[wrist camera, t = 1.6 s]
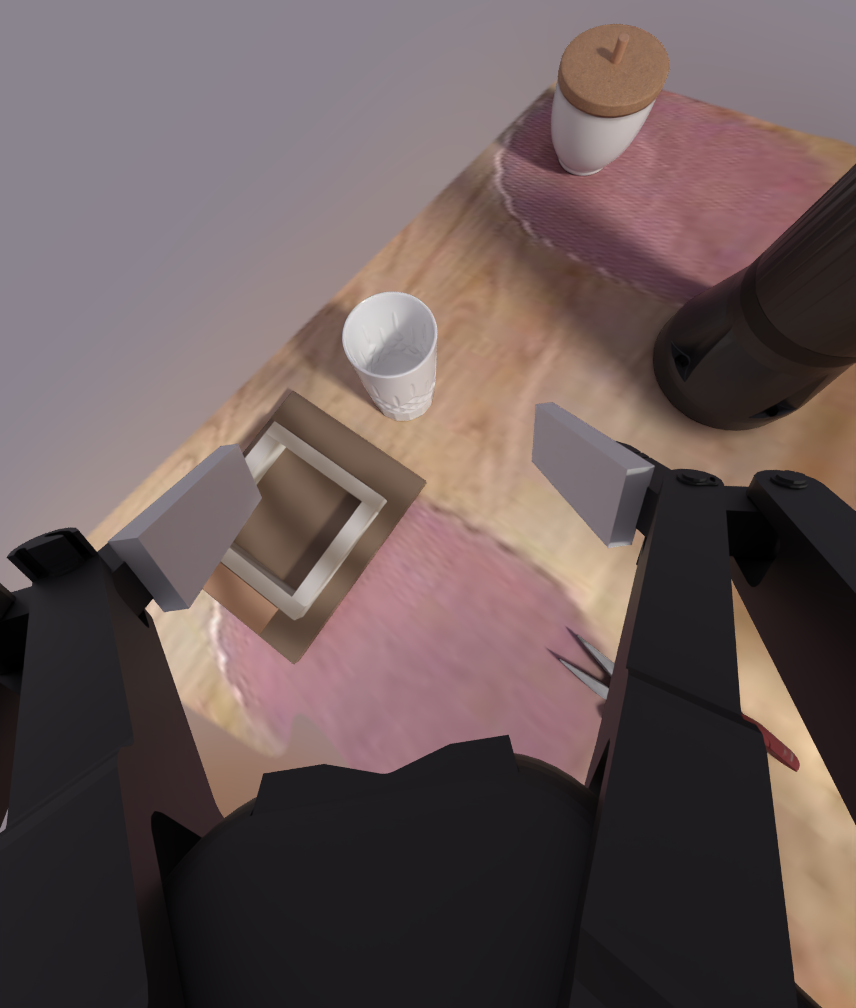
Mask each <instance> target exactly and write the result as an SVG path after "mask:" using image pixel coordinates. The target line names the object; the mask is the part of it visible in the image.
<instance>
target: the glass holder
mask: <svg viewBox="0 0 856 1008" xmlns="http://www.w3.org/2000/svg"><path fill="white" fill-rule="evenodd" d="M243 456H244V458H245V460H246V463H247V465H248V467H249V469H250V472H251V474H252V476H253V479H254V481H255V483H256V485H257V488H258V490H259V492H260V494H261V497H262V499H261V500H260V502H259V503H258V505H257V506H256V508H255V509H254V511H253V512H252V514H251V515H250V517H249V518H248V520H247V521H246V523H245V525H244V526H243V528H242V529H241V531H240V532H239V534H238V535H237V537H236V538H235V540H234V541H233V543H232V544H231V546H230V547H229V549H228V550H227V552H226V553H225V555H224V556H223V558H222V559H221V561H220V563H219V564H218V566H217V567H216V569H215V570H214V572H213V573H212V575H211V576H210V578H209V579H208V581H207V582H206V584H205V585H204V587H203V588H202V589H203V590H204V591H206V592H207V593H208V594H209V595H210V596H212V597H213V598H214V599H215V600H216V601H218V602H219V603H220V604H221V605H223V606H224V607H225V608H226V609H227V610H229V611H230V612H231V613H232V614H233V615H235V616H236V617H237V618H238V619H239V620H241V621H242V622H243V623H244V624H245V625H247V626H248V627H249V628H250V629H251V630H253V631H254V632H255V633H256V634H258V635H259V636H260V637H261V638H262V639H264V640H265V641H266V642H267V643H268V644H270V645H271V646H272V647H273V648H274V649H276V650H277V651H278V652H279V653H280V654H282V655H283V656H284V657H285V658H287V659H288V660H289V661H290V662H291V663H293V664H295V663H296V662H298V661H299V660H300V659H301V657H302V656H303V655H304V653H305V652H306V650H307V649H308V648H309V646H310V645H311V643H312V642H313V641H314V639H315V638H316V636H317V635H318V634H319V632H320V631H321V629H322V628H323V627H324V625H325V624H326V622H327V621H328V620H329V618H330V617H331V616H332V614H333V613H334V611H335V610H336V609H337V607H338V606H339V604H340V603H341V602H342V600H343V599H344V597H345V596H346V595H347V593H348V592H349V590H350V589H351V588H352V586H353V585H354V583H355V582H356V581H357V579H358V578H359V576H360V575H361V574H362V572H363V571H364V569H365V568H366V567H367V565H368V564H369V563H370V561H371V560H372V558H373V557H374V556H375V554H376V553H377V551H378V550H379V549H380V547H381V546H382V544H383V543H384V542H385V540H386V539H387V537H388V536H389V535H390V533H391V532H392V530H393V529H394V528H395V526H396V525H397V523H398V522H399V521H400V519H401V518H402V516H403V515H404V514H405V512H406V511H407V510H408V508H409V507H410V505H411V504H412V503H413V501H414V500H415V498H416V497H417V496H418V494H419V493H420V491H421V490H422V489H423V487H424V486H425V484H426V480H424V479H423V478H421V477H420V476H418V475H417V474H415V473H414V472H412V471H411V470H409V469H408V468H406V467H405V466H403V465H402V464H401V463H399V462H398V461H396V460H395V459H393V458H392V457H390V456H389V455H387V454H386V453H384V452H383V451H381V450H380V449H378V448H377V447H375V446H374V445H373V444H371V443H370V442H368V441H367V440H365V439H364V438H362V437H361V436H359V435H358V434H356V433H355V432H353V431H352V430H350V429H349V428H347V427H346V426H345V425H343V424H342V423H340V422H339V421H337V420H336V419H334V418H333V417H331V416H330V415H328V414H327V413H325V412H324V411H322V410H321V409H319V408H318V407H317V406H315V405H314V404H312V403H311V402H309V401H308V400H306V399H305V398H303V397H302V396H300V395H299V394H297V393H296V392H294V391H292V392H291V394H290V395H289V396H288V397H287V399H286V400H285V401H284V402H283V404H282V405H281V406H280V407H279V409H278V410H277V411H276V412H275V414H274V415H273V416H272V417H271V419H270V420H269V421H268V422H267V424H266V425H265V426H264V428H263V429H262V430H261V431H260V433H259V434H258V435H257V436H256V438H255V439H254V440H253V441H252V443H251V444H250V445H249V446H248V448H247V449H246V450H245V451H244V453H243Z"/></svg>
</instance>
